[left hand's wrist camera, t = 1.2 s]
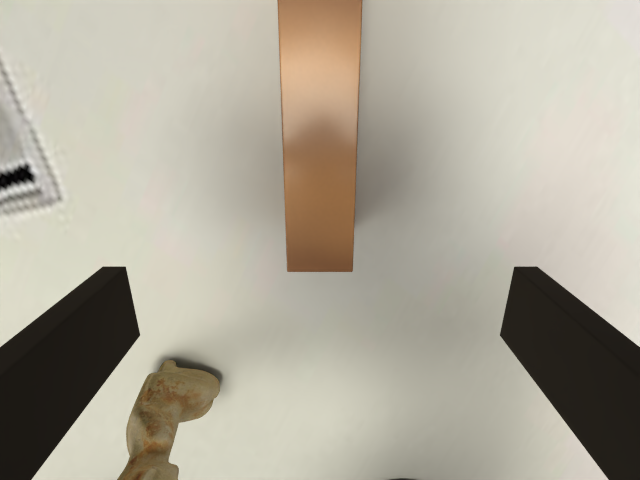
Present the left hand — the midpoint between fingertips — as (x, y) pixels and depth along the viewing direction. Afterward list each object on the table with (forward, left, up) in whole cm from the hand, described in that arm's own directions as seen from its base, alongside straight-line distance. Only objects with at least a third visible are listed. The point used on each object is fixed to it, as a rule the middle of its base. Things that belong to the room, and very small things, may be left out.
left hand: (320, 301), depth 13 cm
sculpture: (-18, +18, -21) cm, 33 cm away
